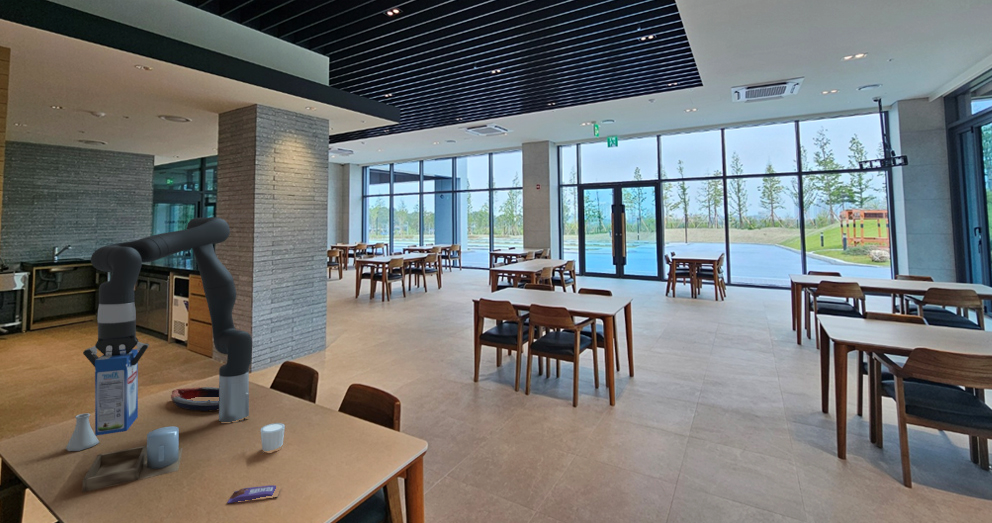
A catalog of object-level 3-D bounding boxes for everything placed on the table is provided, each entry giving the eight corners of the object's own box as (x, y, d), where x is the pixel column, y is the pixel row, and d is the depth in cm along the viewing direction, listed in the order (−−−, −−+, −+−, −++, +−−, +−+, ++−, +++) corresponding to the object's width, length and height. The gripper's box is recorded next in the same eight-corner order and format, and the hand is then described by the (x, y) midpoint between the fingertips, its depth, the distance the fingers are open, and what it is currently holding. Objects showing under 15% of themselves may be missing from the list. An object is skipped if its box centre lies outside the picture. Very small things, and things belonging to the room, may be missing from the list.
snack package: (282, 482, 107) (277, 493, 103) (282, 489, 107) (277, 501, 103) (234, 487, 105) (226, 499, 100) (234, 494, 105) (226, 507, 100)
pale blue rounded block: (179, 453, 120) (179, 424, 120) (176, 466, 113) (176, 435, 113) (149, 460, 116) (149, 429, 116) (144, 473, 109) (144, 441, 109)
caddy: (182, 452, 124) (182, 438, 124) (177, 475, 111) (178, 460, 111) (98, 470, 113) (98, 454, 113) (82, 498, 101) (82, 480, 100)
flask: (77, 453, 122) (77, 421, 121) (59, 450, 123) (59, 418, 123) (105, 442, 129) (104, 411, 128) (88, 439, 130) (87, 409, 130)
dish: (211, 418, 149) (211, 405, 148) (156, 405, 158) (156, 393, 158) (249, 403, 163) (249, 391, 163) (196, 392, 173) (196, 381, 173)
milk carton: (126, 431, 107) (126, 357, 106) (95, 435, 104) (94, 360, 103) (137, 417, 115) (137, 348, 115) (109, 421, 112) (108, 351, 112)
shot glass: (289, 446, 129) (289, 425, 129) (269, 456, 123) (269, 434, 123) (275, 441, 132) (275, 421, 132) (255, 451, 126) (255, 429, 125)
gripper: (152, 315, 115) (152, 374, 116) (85, 319, 108) (86, 382, 108) (148, 319, 109) (148, 381, 110) (77, 323, 102) (77, 390, 102)
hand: (117, 381), depth 109 cm, fingers closed
